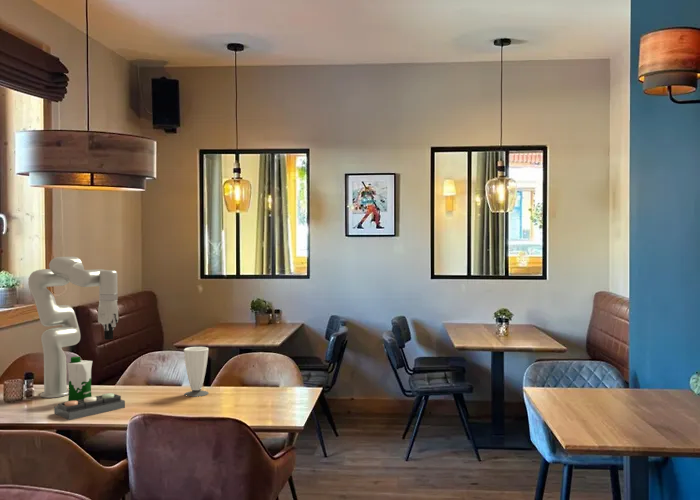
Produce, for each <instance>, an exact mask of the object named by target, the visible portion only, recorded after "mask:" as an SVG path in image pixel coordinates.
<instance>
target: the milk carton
mask: <svg viewBox="0 0 700 500" xmlns="http://www.w3.org/2000/svg"><path fill="white" fill-rule="evenodd" d="M92 366H93V360H85V359H84V360H81V356H72V357H70V361H69V362H66V368H67V370H68V390H69V394H68V398H67V399H68V400H67V401H76V400H81V399H84V398H87V397H93V396H92Z"/></svg>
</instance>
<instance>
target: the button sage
mask: <svg viewBox="0 0 700 500" xmlns="http://www.w3.org/2000/svg"><path fill="white" fill-rule="evenodd" d="M114 394H115V393H113V392H110V393H109V392H108V393H103V394H101V395H102V398H104V399H106V398H111V397H114Z"/></svg>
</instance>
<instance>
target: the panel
mask: <svg viewBox="0 0 700 500" xmlns="http://www.w3.org/2000/svg"><path fill="white" fill-rule="evenodd" d="M113 394H114V397H111V398H106V399H104V398H102V395H103V394H101V395H96V396H95V397H96V398H97V400H96V401H92V402H87V403H86V402H84V399H81V400H76V401H78V404H77V405H72V406H68V407H67V406H65V402H62V403H58V404H57V405H55V406H53V407H54V409H53V411H54V412H53V413H54V415H57V416H59V417H60V418H63V419H66V420H68V421H72V420H75V419H80V418H85V417H89V416H94V415H98V414H99V415H100V414H103V413H106V412H111V411H115V410H121V409H124V408H126V401H125V399H122V395H119V394H117V393H113Z"/></svg>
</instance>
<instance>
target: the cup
mask: <svg viewBox="0 0 700 500" xmlns="http://www.w3.org/2000/svg"><path fill="white" fill-rule="evenodd" d="M183 355H184V361H185V362H184V363H185V369H186V374H187V379H188V384H189V387H190V389H191V391H187V392H185V393H183V395H184V396H185V395H187V396H192V397H191V398H199V396H201V397H204V396H207V395H209V394H210V393H209V391H206V390H202V388H203V385H204V381H205V376H206V373H207V365H208V358H209V347H208V346H207V347H206V346H189V347H185V348H184V349H183ZM187 396H186V397H187ZM197 396H198V397H197Z"/></svg>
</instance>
